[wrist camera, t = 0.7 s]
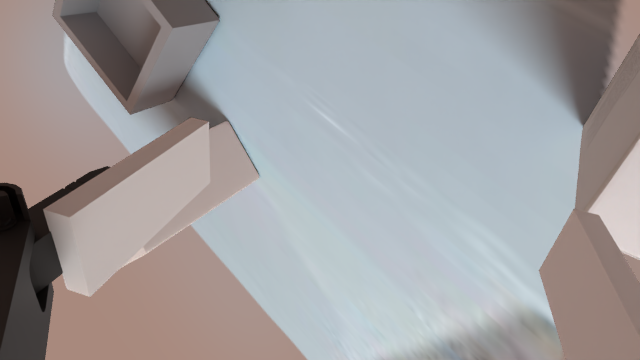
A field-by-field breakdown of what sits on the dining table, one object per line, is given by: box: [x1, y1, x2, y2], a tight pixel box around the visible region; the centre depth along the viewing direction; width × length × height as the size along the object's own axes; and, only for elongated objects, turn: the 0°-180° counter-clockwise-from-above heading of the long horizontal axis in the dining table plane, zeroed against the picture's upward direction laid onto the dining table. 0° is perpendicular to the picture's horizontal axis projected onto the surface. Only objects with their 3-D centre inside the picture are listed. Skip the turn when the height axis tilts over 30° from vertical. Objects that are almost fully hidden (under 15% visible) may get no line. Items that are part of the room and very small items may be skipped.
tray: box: [53, 0, 220, 115], centre depth 39 cm, size 13×13×6 cm
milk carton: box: [122, 121, 259, 267], centre depth 38 cm, size 7×7×19 cm
